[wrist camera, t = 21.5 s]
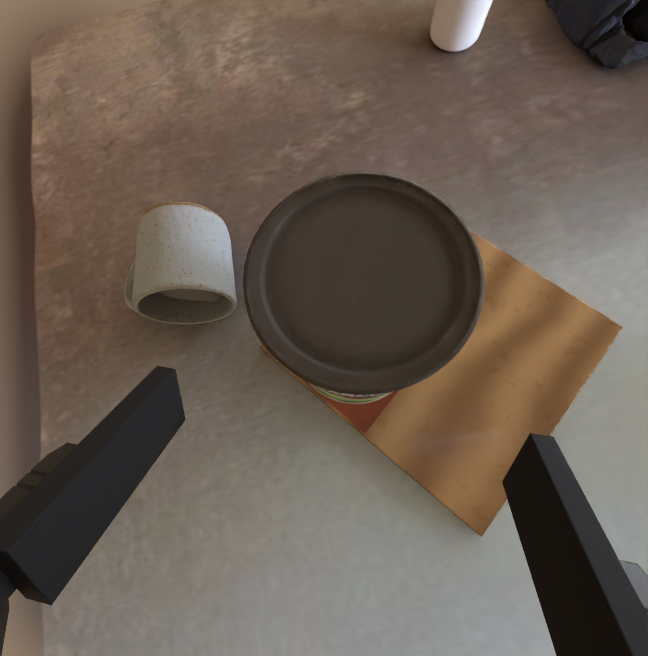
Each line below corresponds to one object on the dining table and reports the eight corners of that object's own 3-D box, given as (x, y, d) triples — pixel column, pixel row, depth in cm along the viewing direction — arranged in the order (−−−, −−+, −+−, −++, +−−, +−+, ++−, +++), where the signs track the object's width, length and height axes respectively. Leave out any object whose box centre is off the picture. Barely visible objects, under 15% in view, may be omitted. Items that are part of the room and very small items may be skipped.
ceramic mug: (239, 235, 32) (205, 181, 24) (249, 315, 30) (214, 283, 22) (134, 257, 32) (68, 210, 25) (136, 338, 30) (64, 313, 23)
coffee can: (424, 401, 26) (507, 387, 13) (295, 407, 27) (239, 401, 13) (410, 279, 29) (465, 158, 15) (292, 287, 29) (243, 178, 16)
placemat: (617, 328, 27) (625, 326, 27) (478, 534, 24) (482, 538, 24) (400, 189, 32) (401, 184, 31) (261, 348, 29) (258, 346, 28)
